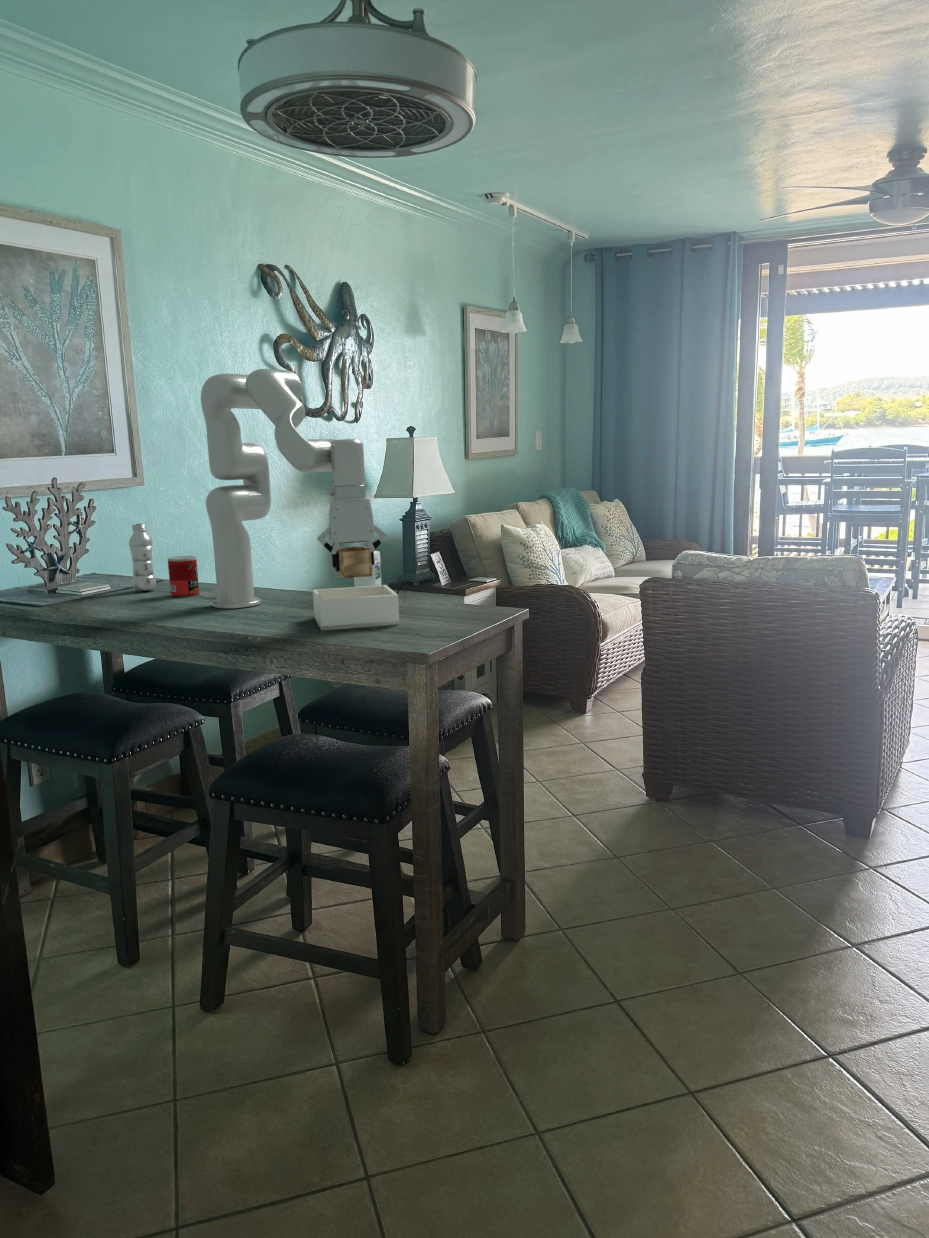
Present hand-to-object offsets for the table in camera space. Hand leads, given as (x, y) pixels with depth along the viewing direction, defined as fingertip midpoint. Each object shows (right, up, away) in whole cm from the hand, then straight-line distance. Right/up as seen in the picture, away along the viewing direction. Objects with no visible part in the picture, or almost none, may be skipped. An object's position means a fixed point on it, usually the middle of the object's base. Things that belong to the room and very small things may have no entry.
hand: (353, 568), depth 208 cm
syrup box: (+2, -9, +20) cm, 22 cm away
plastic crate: (0, -12, +3) cm, 13 cm away
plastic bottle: (-70, -4, +56) cm, 90 cm away
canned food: (-55, -5, +47) cm, 72 cm away
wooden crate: (0, -1, 0) cm, 1 cm away
